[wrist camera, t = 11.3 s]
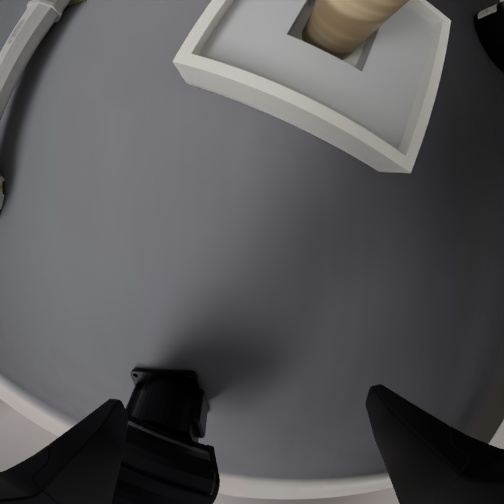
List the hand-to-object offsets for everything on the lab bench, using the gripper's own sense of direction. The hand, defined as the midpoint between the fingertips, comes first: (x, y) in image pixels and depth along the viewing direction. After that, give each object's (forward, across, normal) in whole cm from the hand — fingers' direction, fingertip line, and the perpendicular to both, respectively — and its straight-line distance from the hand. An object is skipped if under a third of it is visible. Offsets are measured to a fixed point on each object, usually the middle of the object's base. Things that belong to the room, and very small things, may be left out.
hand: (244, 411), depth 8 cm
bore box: (+13, -7, -18) cm, 23 cm away
